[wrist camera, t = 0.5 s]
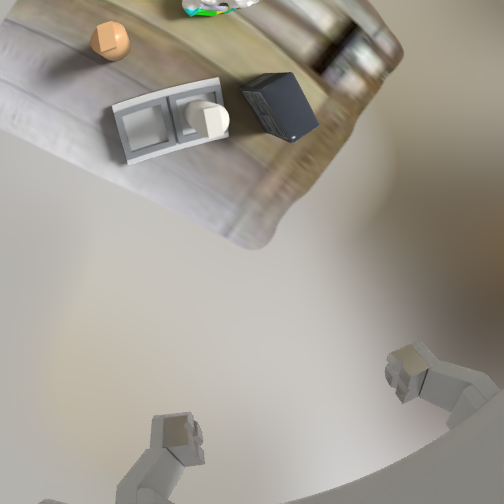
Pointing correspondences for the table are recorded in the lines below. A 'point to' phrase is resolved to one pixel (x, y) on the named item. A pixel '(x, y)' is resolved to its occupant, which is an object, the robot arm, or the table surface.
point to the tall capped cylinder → (110, 41)
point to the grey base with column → (171, 119)
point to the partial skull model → (213, 6)
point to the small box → (280, 105)
